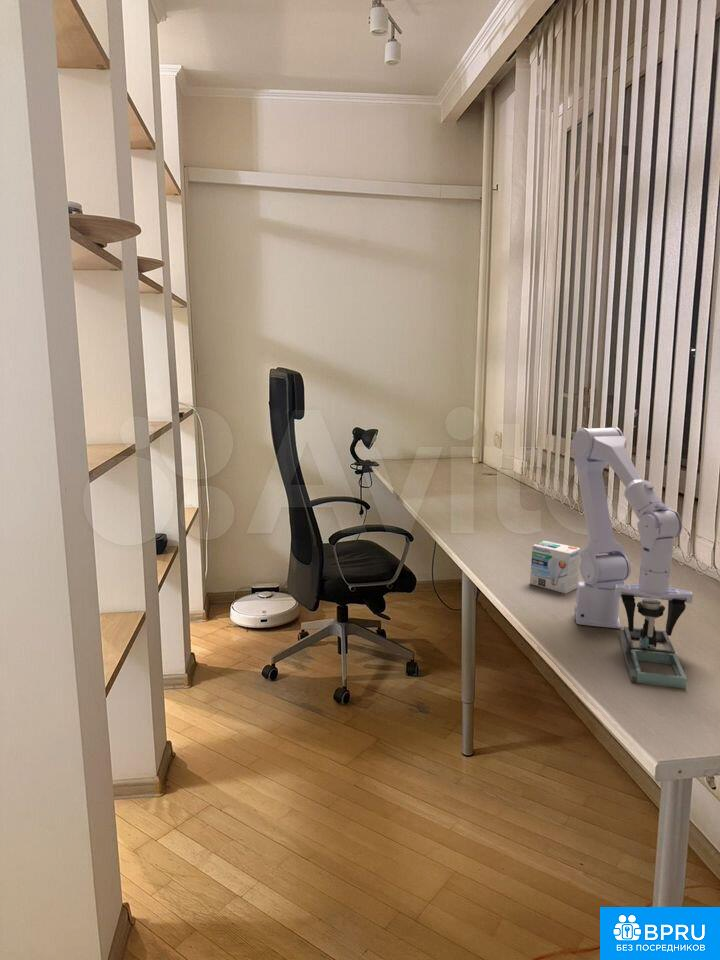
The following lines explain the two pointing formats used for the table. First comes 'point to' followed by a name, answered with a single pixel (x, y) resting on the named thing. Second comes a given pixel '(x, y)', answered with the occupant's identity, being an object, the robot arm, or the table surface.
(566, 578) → the light bulb box
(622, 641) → the grey teal rectangular frame
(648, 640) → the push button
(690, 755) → the table surface
